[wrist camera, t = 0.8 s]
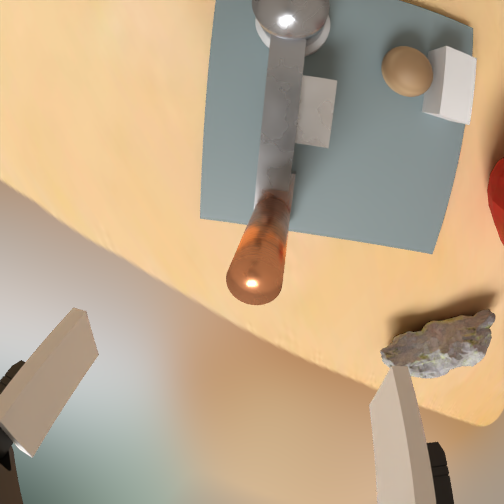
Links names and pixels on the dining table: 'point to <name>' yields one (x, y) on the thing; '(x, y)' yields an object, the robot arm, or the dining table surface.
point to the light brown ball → (407, 71)
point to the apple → (497, 197)
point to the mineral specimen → (441, 345)
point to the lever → (281, 142)
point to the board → (344, 124)
